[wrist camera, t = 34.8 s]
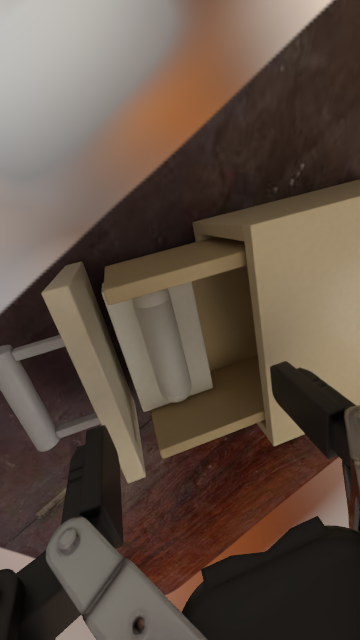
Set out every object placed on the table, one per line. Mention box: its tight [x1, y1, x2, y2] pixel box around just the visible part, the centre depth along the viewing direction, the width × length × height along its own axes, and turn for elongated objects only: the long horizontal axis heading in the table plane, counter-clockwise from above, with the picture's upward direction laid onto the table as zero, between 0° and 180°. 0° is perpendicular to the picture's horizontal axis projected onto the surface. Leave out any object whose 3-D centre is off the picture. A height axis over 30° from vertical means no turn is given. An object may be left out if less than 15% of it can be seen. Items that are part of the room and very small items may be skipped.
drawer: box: [0, 237, 265, 483], centre depth 18 cm, size 19×13×7 cm, turn 103°
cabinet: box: [192, 179, 360, 446], centre depth 20 cm, size 16×14×9 cm
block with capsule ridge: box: [101, 282, 213, 412], centre depth 19 cm, size 10×6×4 cm, turn 13°
